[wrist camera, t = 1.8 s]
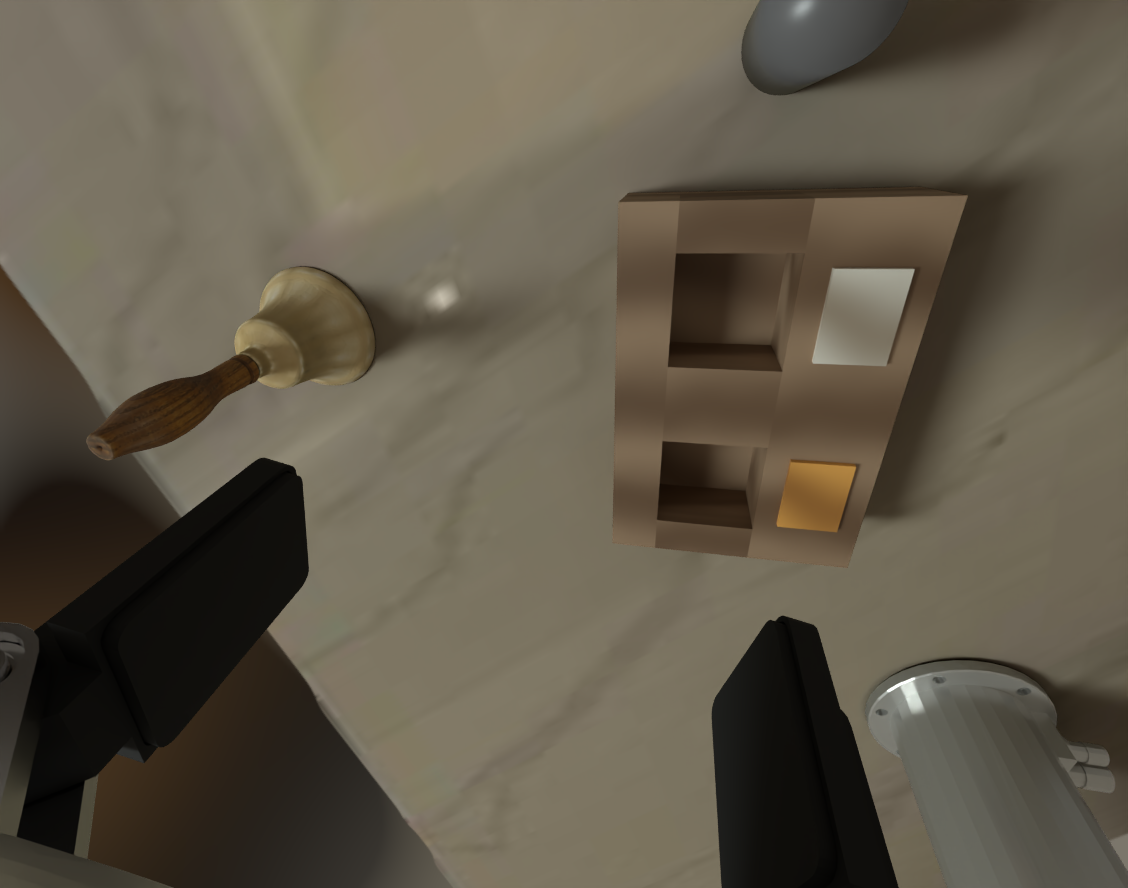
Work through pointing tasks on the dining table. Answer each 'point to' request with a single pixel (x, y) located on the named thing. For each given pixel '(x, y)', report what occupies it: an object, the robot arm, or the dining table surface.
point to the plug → (812, 39)
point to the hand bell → (254, 361)
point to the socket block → (766, 361)
